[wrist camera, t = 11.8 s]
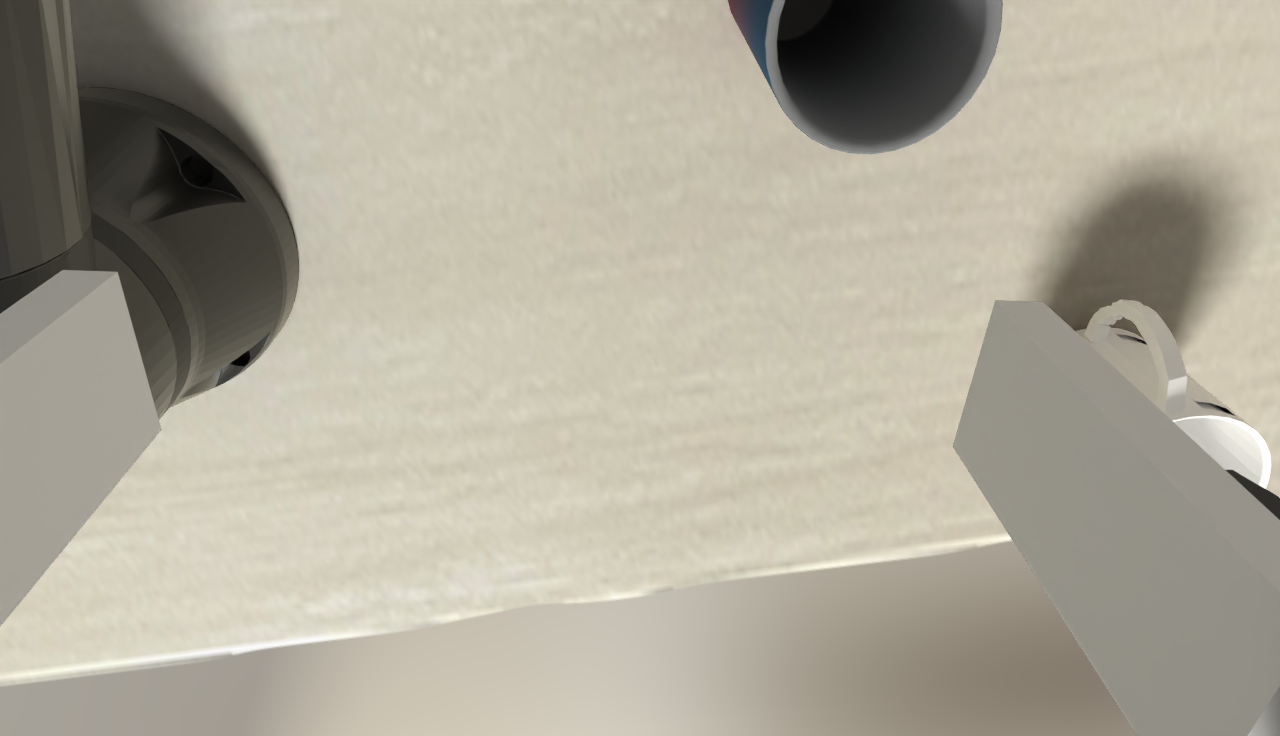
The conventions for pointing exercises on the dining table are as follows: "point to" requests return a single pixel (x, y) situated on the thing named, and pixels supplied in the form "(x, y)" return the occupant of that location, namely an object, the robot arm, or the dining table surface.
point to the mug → (1176, 387)
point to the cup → (871, 64)
